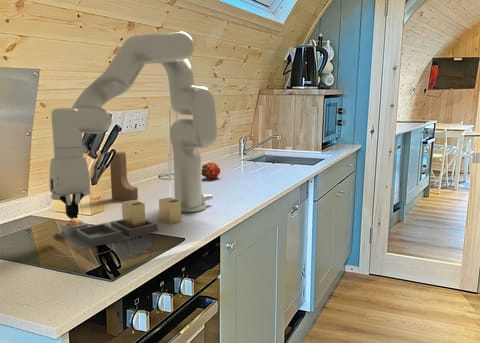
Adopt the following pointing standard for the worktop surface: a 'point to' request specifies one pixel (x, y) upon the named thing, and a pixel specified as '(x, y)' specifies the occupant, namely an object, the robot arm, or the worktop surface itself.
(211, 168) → the red bumpy rounded lump
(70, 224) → the button
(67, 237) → the grey compartment tray
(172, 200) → the block
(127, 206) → the block
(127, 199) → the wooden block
